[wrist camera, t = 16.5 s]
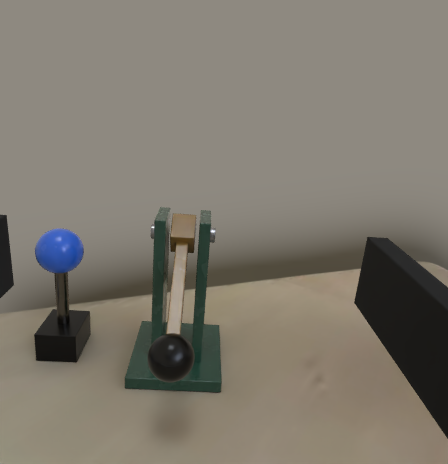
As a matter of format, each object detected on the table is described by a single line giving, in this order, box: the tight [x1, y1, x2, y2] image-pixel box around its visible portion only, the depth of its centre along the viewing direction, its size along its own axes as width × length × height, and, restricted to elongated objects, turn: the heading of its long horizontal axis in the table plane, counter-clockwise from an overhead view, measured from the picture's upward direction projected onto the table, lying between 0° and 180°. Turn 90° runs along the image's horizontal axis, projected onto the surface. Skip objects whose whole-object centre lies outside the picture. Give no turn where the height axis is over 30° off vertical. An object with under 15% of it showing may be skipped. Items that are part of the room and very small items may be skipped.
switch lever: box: [147, 214, 196, 382], centre depth 34 cm, size 15×4×4 cm
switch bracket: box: [125, 208, 221, 392], centre depth 40 cm, size 10×9×16 cm
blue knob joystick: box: [34, 228, 90, 362], centre depth 41 cm, size 4×5×13 cm
